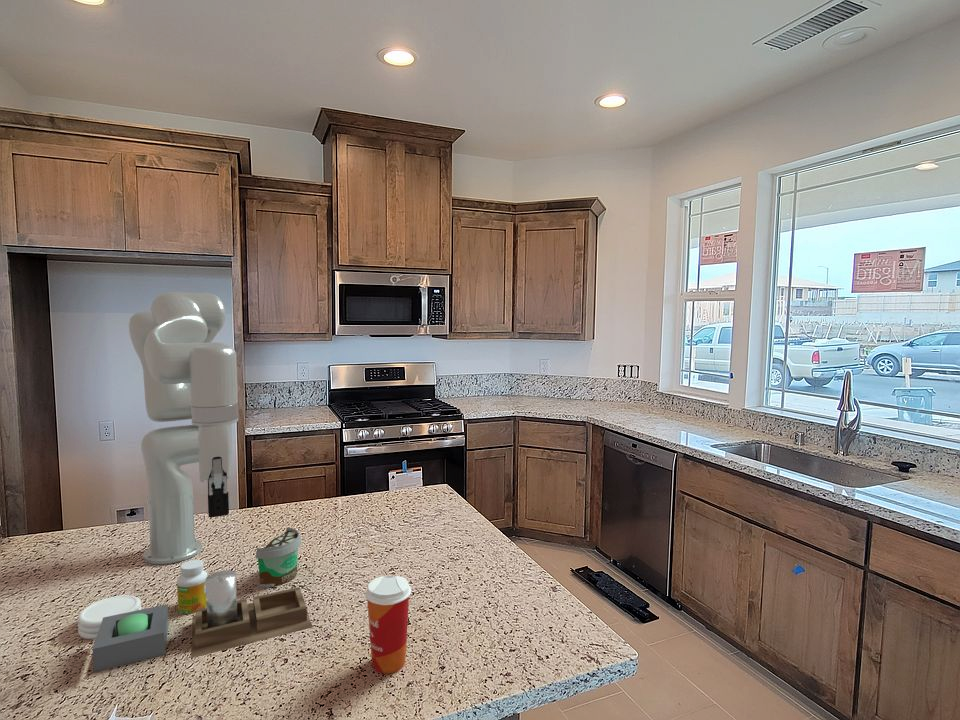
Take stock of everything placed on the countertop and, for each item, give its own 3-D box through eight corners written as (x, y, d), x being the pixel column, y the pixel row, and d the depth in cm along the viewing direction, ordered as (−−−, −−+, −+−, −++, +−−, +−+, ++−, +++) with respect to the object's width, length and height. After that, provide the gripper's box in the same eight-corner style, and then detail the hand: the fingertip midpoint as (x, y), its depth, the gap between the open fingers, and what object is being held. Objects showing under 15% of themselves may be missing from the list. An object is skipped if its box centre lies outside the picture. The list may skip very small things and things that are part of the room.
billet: (207, 624, 99) (205, 573, 98) (236, 618, 101) (235, 568, 101) (207, 639, 95) (205, 586, 94) (238, 632, 97) (236, 579, 96)
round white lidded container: (141, 630, 99) (140, 612, 99) (74, 647, 94) (73, 628, 94) (142, 605, 108) (141, 589, 107) (81, 620, 103) (80, 602, 102)
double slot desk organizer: (193, 621, 102) (192, 603, 102) (300, 596, 111) (300, 580, 111) (191, 663, 90) (190, 644, 89) (312, 632, 99) (312, 614, 98)
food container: (282, 597, 111) (281, 551, 110) (256, 594, 112) (255, 549, 111) (312, 570, 123) (311, 528, 122) (288, 567, 124) (287, 526, 123)
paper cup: (368, 650, 94) (368, 574, 93) (412, 648, 94) (412, 572, 93) (362, 680, 86) (362, 598, 85) (410, 677, 87) (410, 596, 85)
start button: (120, 641, 93) (119, 617, 93) (149, 634, 95) (148, 611, 95) (116, 655, 89) (115, 630, 89) (147, 648, 92) (146, 623, 91)
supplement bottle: (173, 619, 102) (171, 571, 102) (183, 605, 108) (181, 559, 107) (203, 617, 103) (202, 569, 103) (212, 602, 109) (210, 557, 108)
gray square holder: (104, 644, 95) (103, 617, 94) (168, 629, 99) (167, 603, 99) (94, 678, 86) (92, 649, 85) (165, 660, 90) (164, 632, 90)
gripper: (192, 408, 101) (195, 495, 102) (190, 425, 85) (193, 527, 87) (235, 405, 104) (238, 489, 105) (240, 421, 89) (243, 519, 90)
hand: (218, 506), depth 96 cm, fingers open, 9 cm apart
